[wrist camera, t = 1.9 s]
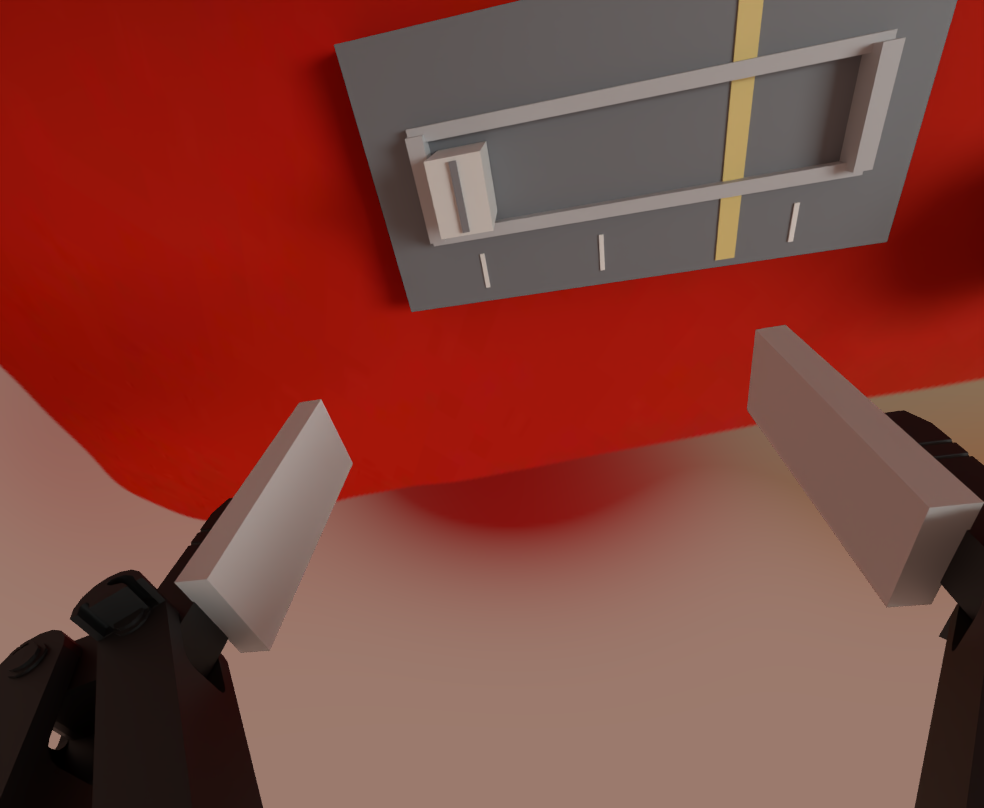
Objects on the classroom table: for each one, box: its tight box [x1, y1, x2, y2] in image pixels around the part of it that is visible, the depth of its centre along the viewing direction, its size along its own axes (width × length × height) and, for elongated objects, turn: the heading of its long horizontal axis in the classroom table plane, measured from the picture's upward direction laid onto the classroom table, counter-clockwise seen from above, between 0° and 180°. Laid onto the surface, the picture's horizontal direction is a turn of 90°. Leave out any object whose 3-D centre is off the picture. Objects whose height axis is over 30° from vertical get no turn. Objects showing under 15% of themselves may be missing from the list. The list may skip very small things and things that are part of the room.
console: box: [334, 0, 957, 312], centre depth 28 cm, size 16×32×4 cm, turn 100°
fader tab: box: [424, 141, 497, 239], centre depth 27 cm, size 4×3×5 cm
